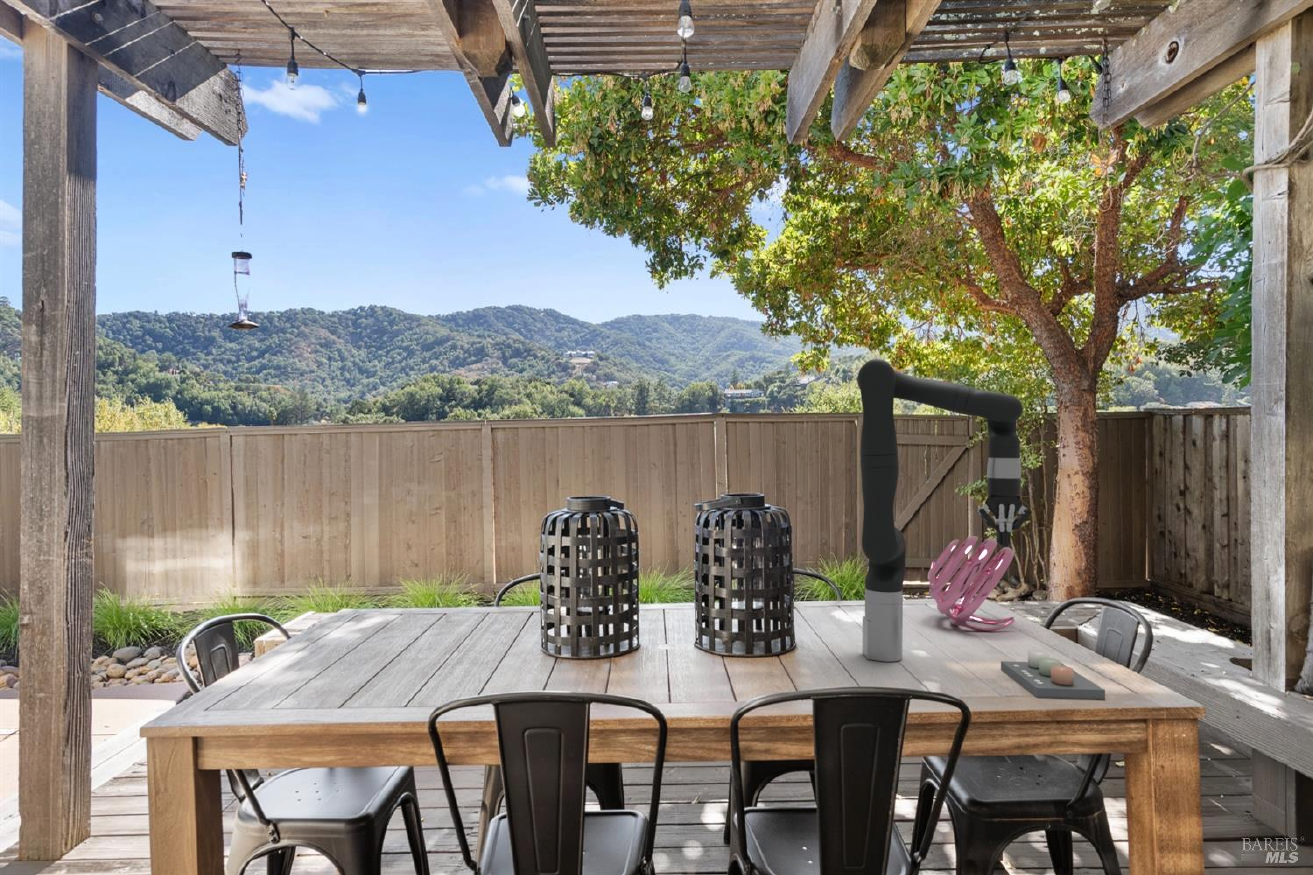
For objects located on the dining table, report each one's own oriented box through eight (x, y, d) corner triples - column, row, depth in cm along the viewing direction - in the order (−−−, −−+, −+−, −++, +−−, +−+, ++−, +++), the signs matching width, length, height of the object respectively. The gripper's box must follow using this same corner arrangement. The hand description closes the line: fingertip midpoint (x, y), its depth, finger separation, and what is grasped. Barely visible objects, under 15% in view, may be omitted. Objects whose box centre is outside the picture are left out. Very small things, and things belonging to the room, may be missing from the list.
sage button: (1044, 676, 169) (1044, 662, 169) (1035, 670, 173) (1035, 657, 173) (1064, 676, 169) (1064, 663, 169) (1055, 670, 173) (1055, 657, 173)
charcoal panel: (1037, 697, 161) (1037, 687, 161) (1000, 669, 181) (1001, 660, 181) (1104, 699, 160) (1105, 689, 160) (1061, 671, 180) (1061, 661, 180)
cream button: (1032, 668, 175) (1032, 655, 175) (1024, 662, 179) (1024, 650, 179) (1052, 668, 175) (1052, 655, 175) (1043, 663, 179) (1043, 650, 179)
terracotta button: (1056, 684, 163) (1056, 670, 163) (1047, 678, 167) (1047, 664, 167) (1077, 685, 163) (1077, 671, 163) (1067, 678, 167) (1067, 665, 167)
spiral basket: (1054, 561, 225) (972, 507, 234) (1045, 599, 202) (955, 537, 211) (997, 624, 238) (922, 571, 247) (983, 666, 215) (901, 606, 224)
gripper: (981, 476, 182) (981, 548, 182) (1038, 477, 181) (1037, 549, 181) (971, 475, 190) (970, 544, 190) (1025, 476, 189) (1024, 545, 189)
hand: (1003, 546), depth 185 cm, fingers closed
